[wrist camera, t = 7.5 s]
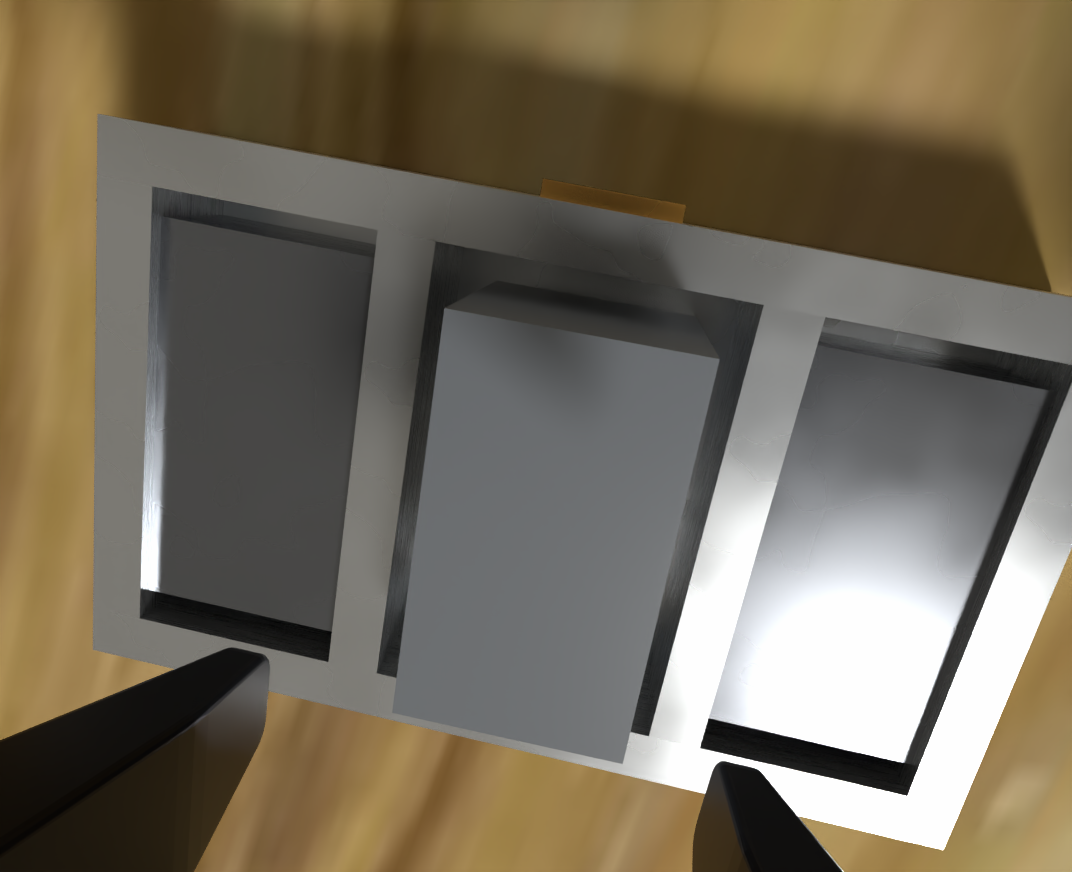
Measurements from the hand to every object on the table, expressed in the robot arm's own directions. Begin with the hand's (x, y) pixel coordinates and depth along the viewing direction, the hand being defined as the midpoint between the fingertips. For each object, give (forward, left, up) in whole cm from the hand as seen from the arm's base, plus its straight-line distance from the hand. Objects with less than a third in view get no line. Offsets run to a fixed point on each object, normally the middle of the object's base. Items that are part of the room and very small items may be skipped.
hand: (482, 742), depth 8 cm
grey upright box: (0, 0, -9) cm, 9 cm away
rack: (0, 0, -10) cm, 10 cm away
